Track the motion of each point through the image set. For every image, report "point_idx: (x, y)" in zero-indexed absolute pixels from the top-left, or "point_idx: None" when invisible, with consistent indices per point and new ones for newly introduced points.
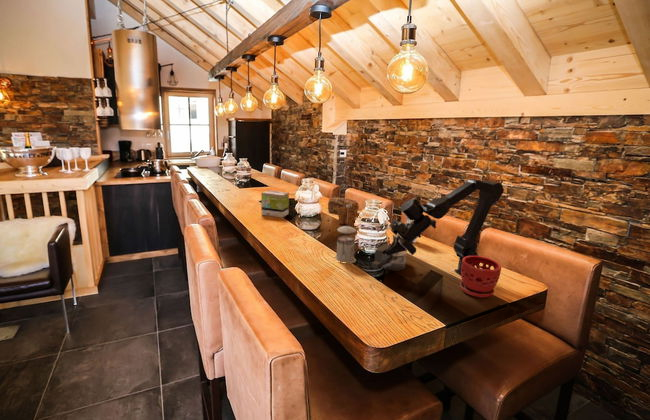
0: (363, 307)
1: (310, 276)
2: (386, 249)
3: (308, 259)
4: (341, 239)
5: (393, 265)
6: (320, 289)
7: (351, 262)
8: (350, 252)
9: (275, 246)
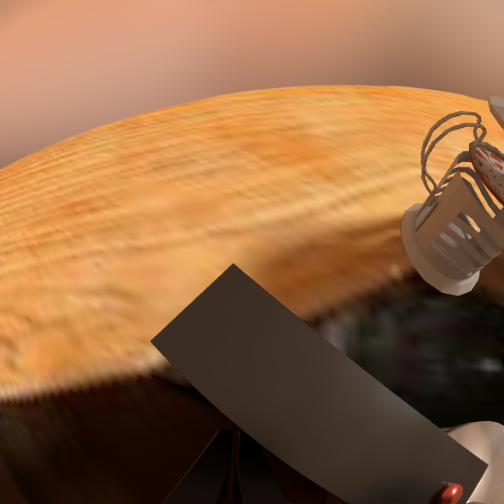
0: (7, 222)
1: (255, 111)
2: (262, 444)
3: (399, 132)
4: (449, 115)
5: (339, 498)
6: (150, 125)
7: (416, 263)
8: (448, 228)
9: (448, 103)
